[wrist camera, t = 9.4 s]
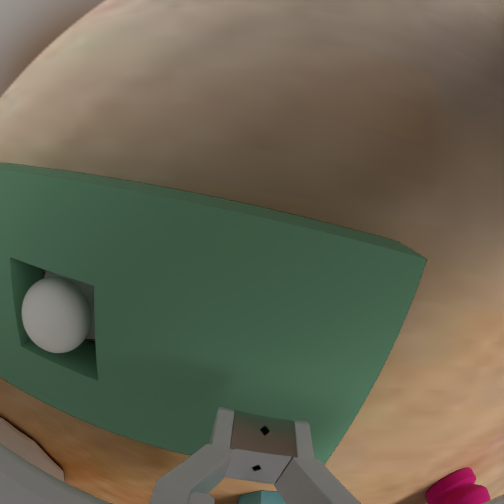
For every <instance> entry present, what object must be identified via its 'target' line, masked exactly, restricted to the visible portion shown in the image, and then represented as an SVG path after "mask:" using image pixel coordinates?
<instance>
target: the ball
mask: <svg viewBox="0 0 504 504" xmlns="http://www.w3.org/2000/svg"><path fill="white" fill-rule="evenodd" d="M22 321H23V325H24V328H25V330H26V332H27V334H28V336H29V337H30V339H31V340H32V341H33V342H34V343H35V344H36V345H37V346H39V347H40V348H42V349H44V350H46V351H48V352H52V353H65V352H69V351H71V350H73V349H75V348H76V347H78V346H79V345H80V344H81V343H82V342H83V341H84V339H85V338H86V336H87V334H88V332H89V329H90V324H91V311H90V306H89V303H88V301H87V298H86V296H85V295H84V293H83V292H82V291H81V289H80V288H79V287H78V286H77V285H75V284H74V283H73V282H71V281H69V280H67V279H64V278H61V277H47V278H43V279H41V280H39V281H37V282H36V283H35V284H33V285H32V286H31V287H30V289H29V290H28V291H27V293H26V295H25V297H24V300H23V304H22Z"/></svg>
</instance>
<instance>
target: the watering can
mask: <svg viewBox="0 0 504 504" xmlns="http://www.w3.org/2000/svg"><path fill="white" fill-rule="evenodd" d="M0 443H1V444H2V445H4V446H5V447H6V448H8V449H9V450H11V451H12V452H14V453H15V454H17V455H18V456H20V457H21V458H23V459H24V460H26V461H28V462H29V463H31V464H33V465H34V466H36V467H38V468H39V469H41V470H43V471H44V472H46V473H48V474H50V475H52V476H53V477H55V478H57V479H59V480H61V481H63V482H65V481H64V473H63V471H62V469H61V468H60V467H59V466H58V465H57V464H56V463H55V462H54V461H53V460H51V459H50V458H49V457H48V455H47V454H46V453H45V452H44V451H43V450H42V449H41V448H40V447H39V446H38V444H37V443H36V442H35V441H33V440H32V439H30V438H29V437H27V436H26V435H24V434H23V433H21V432H20V431H18V430H17V429H16V428H15V427H13V426H12V425H11V424H10V423H8V422H7V421H6V420H4V419H3V418H0Z"/></svg>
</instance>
